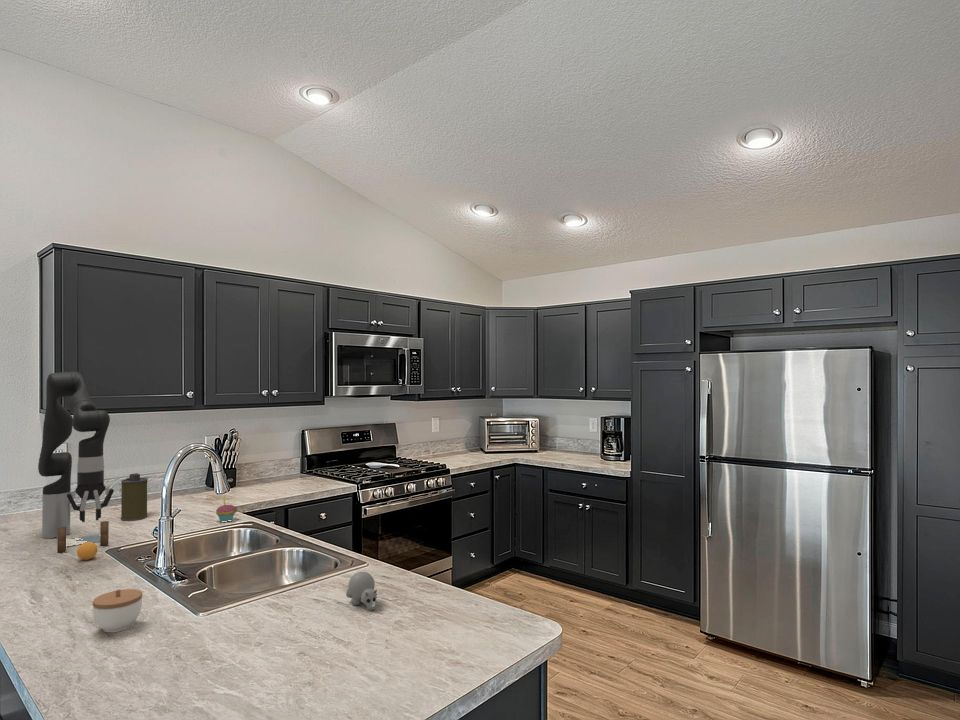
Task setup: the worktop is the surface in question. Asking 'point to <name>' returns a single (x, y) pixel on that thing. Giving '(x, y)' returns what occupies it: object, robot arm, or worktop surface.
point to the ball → (87, 550)
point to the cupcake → (226, 511)
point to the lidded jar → (117, 609)
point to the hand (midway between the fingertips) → (90, 520)
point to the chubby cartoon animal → (362, 590)
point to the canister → (134, 498)
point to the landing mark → (90, 538)
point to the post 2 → (104, 533)
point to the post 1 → (61, 540)
